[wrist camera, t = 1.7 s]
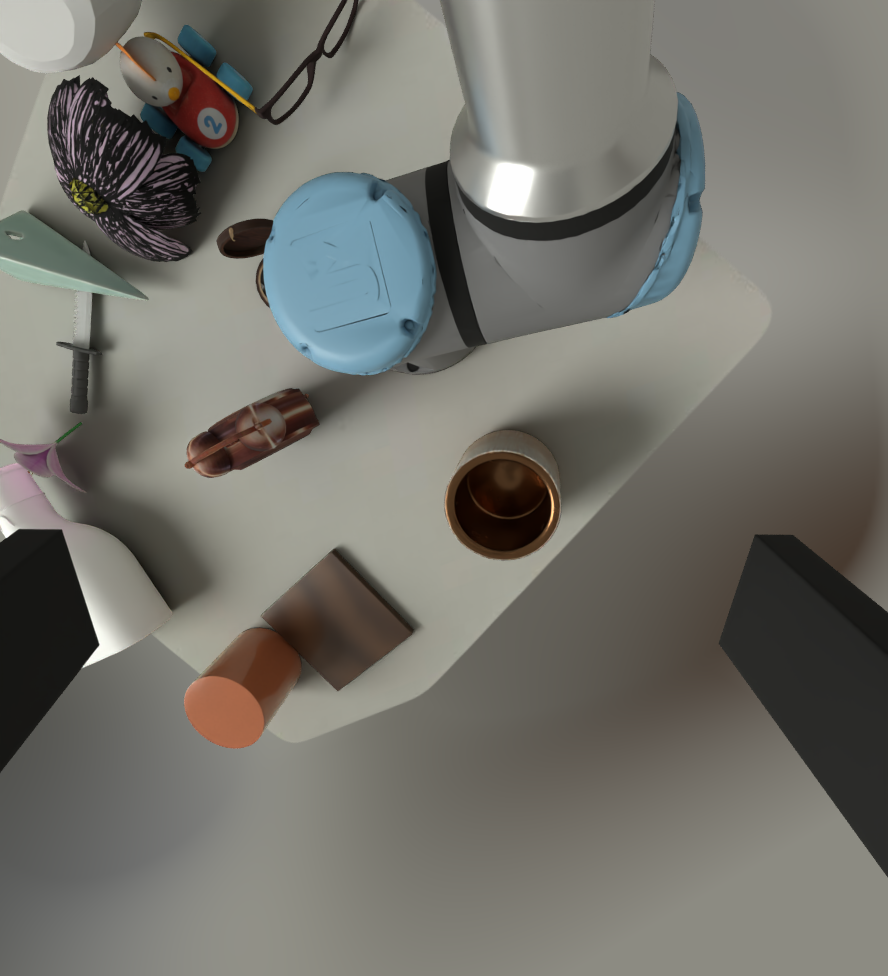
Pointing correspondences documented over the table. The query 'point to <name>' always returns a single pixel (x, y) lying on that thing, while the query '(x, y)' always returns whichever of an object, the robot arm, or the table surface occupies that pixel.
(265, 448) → the alarm clock
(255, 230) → the compass
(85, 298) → the knife
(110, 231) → the decorative flower
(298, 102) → the eyeglasses
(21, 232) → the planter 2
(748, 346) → the table surface
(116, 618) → the bottle
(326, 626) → the brown wooden square plate
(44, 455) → the lily
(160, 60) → the toy car
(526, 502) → the planter
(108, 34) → the soap bottle
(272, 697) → the copper solid cylinder
